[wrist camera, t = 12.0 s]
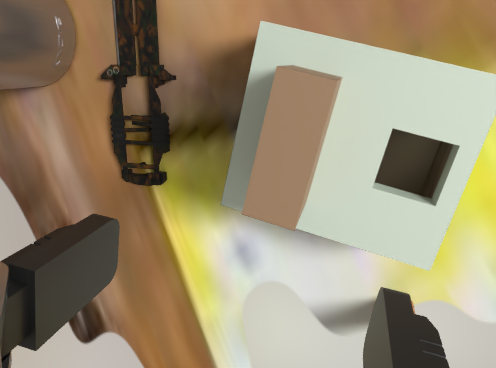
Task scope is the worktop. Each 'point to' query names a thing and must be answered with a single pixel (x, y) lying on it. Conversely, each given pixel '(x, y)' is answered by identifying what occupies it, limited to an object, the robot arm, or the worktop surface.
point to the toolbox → (413, 163)
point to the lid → (352, 140)
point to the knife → (149, 67)
